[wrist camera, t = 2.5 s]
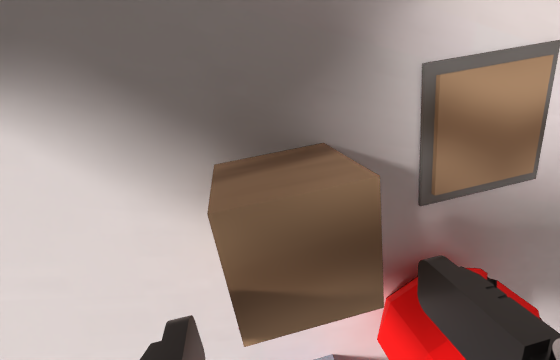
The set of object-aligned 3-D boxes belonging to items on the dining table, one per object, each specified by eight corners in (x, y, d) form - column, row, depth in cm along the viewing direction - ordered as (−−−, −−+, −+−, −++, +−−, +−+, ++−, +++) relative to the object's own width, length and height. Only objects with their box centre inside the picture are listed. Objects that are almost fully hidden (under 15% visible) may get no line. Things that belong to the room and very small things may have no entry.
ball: (480, 299, 22) (603, 403, 15) (396, 356, 22) (476, 485, 15) (445, 230, 19) (578, 318, 12) (348, 297, 19) (421, 423, 12)
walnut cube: (214, 164, 15) (207, 214, 9) (323, 142, 15) (379, 175, 10) (237, 258, 17) (244, 347, 11) (332, 235, 17) (383, 307, 12)
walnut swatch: (422, 63, 15) (428, 62, 14) (556, 40, 16) (567, 39, 15) (418, 205, 18) (424, 208, 17) (532, 177, 19) (540, 180, 18)
